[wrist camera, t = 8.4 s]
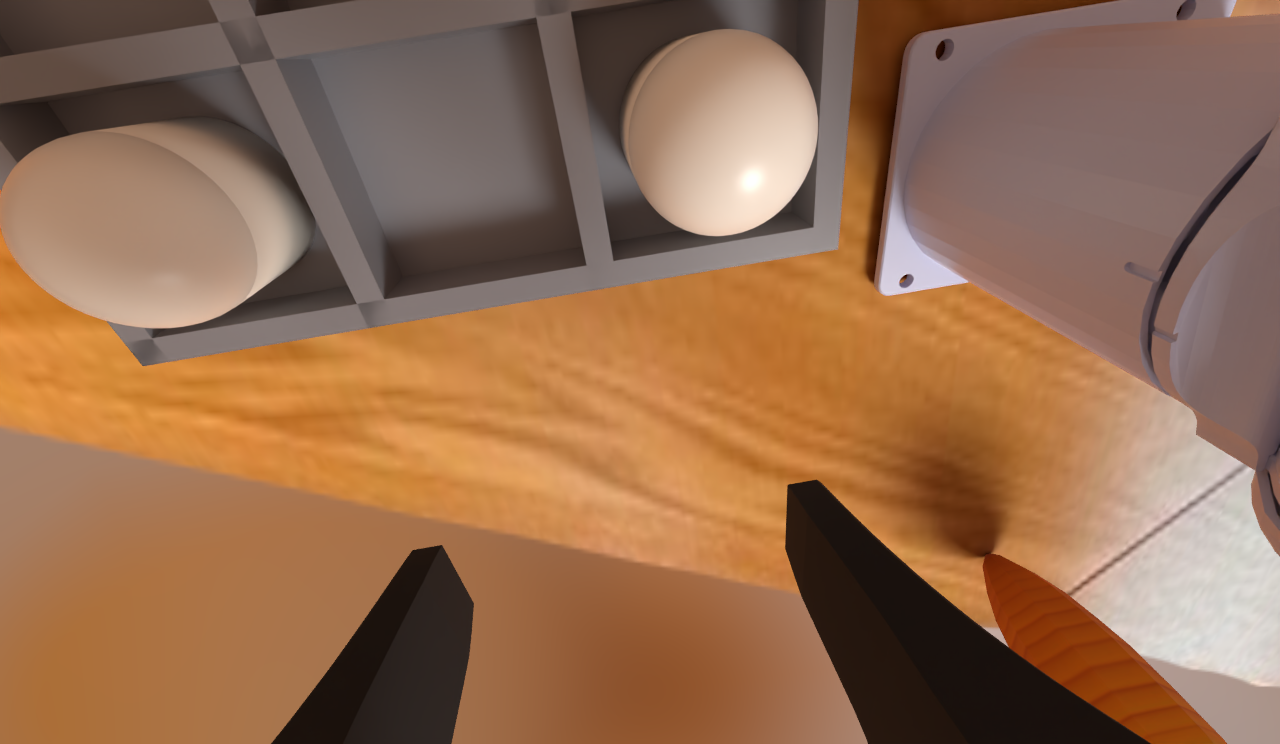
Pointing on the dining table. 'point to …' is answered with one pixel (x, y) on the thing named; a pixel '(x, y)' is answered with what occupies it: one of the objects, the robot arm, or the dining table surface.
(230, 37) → the egg carton
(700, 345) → the dining table surface
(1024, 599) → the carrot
